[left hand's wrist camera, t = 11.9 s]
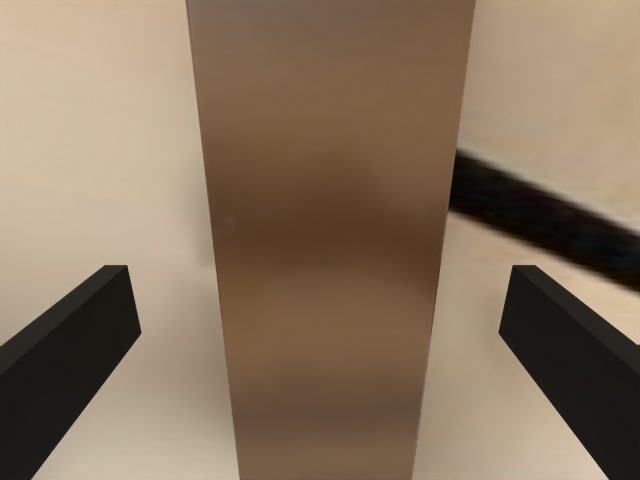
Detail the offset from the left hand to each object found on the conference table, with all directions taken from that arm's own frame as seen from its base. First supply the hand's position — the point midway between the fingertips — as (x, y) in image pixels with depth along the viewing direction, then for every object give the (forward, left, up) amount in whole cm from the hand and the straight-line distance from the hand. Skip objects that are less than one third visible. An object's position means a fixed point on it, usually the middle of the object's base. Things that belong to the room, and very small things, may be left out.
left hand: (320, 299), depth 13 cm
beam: (+15, +26, -4) cm, 30 cm away
